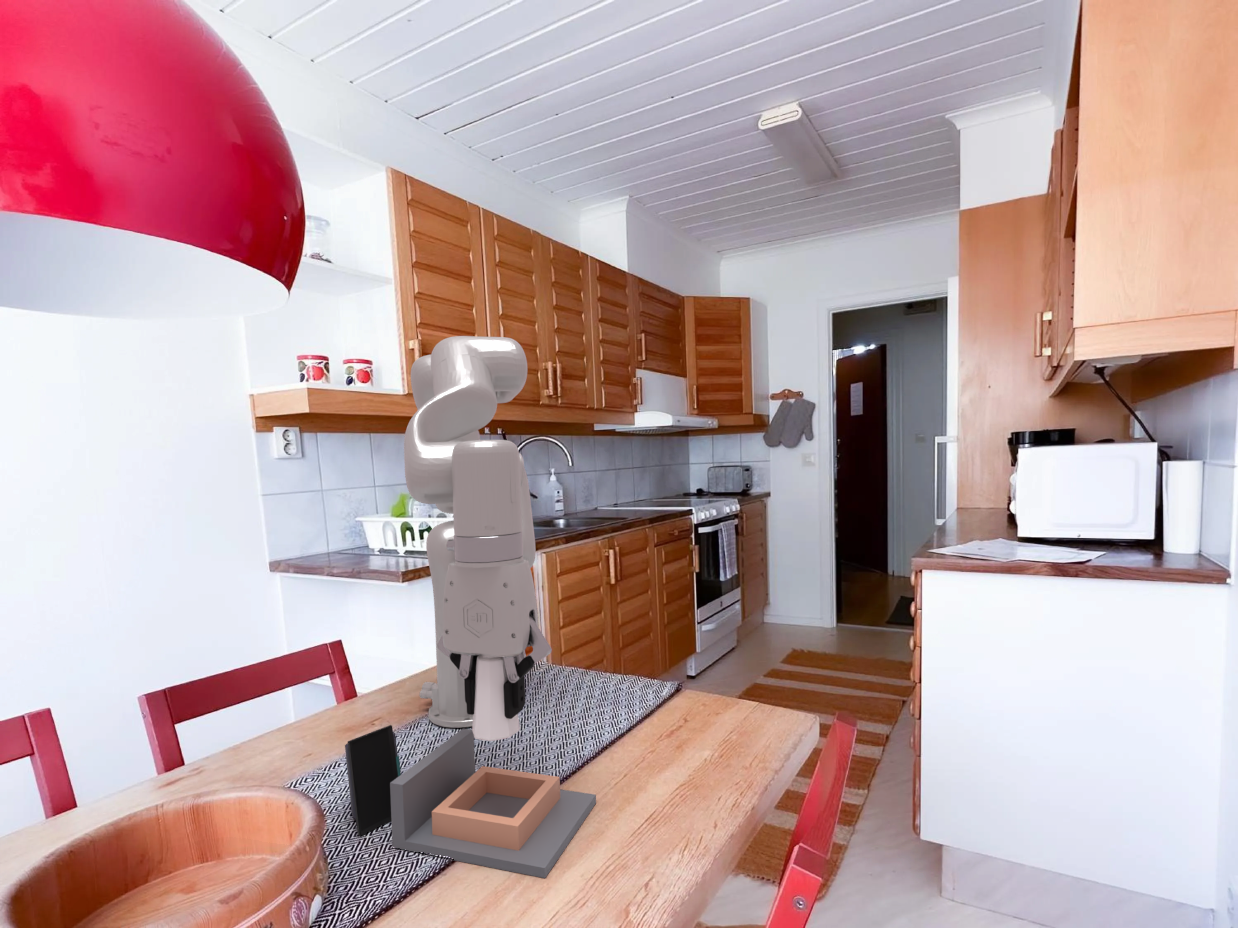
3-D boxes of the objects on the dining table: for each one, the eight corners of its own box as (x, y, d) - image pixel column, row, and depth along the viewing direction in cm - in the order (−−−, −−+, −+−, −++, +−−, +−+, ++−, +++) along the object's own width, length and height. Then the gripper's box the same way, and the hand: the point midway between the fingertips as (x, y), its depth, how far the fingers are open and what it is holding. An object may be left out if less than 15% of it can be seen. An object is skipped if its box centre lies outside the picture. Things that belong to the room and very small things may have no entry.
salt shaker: (478, 721, 74) (474, 627, 74) (524, 720, 74) (520, 626, 74) (465, 742, 69) (461, 640, 69) (515, 741, 68) (511, 639, 68)
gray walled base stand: (392, 847, 68) (389, 782, 68) (464, 782, 81) (462, 728, 81) (545, 878, 62) (542, 806, 62) (596, 802, 75) (593, 744, 75)
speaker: (411, 818, 73) (401, 727, 73) (358, 837, 70) (348, 742, 70) (399, 796, 79) (389, 712, 80) (349, 812, 76) (340, 726, 77)
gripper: (405, 553, 70) (411, 718, 70) (542, 555, 65) (549, 733, 65) (444, 544, 77) (450, 694, 78) (571, 545, 72) (577, 706, 72)
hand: (495, 710), depth 71 cm, fingers closed on salt shaker, 4 cm apart
